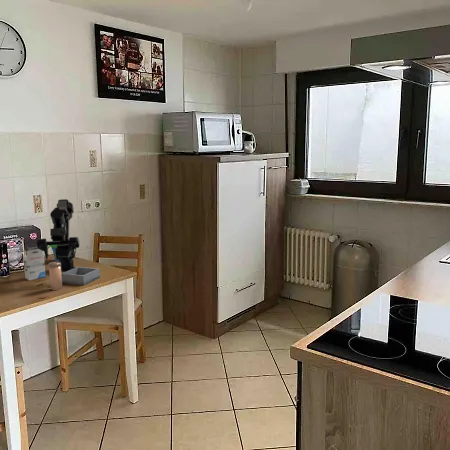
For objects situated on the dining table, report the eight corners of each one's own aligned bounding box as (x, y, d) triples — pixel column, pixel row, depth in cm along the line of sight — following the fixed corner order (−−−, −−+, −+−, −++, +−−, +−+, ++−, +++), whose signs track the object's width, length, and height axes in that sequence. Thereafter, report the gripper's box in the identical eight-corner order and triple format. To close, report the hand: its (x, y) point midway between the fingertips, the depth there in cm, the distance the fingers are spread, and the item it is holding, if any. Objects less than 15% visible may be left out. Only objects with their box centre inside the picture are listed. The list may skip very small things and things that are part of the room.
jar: (48, 289, 205) (45, 264, 203) (55, 286, 210) (53, 261, 208) (57, 291, 204) (55, 265, 201) (65, 287, 208) (63, 262, 206)
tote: (61, 282, 215) (61, 273, 215) (78, 275, 227) (78, 266, 226) (84, 285, 211) (83, 276, 210) (100, 277, 223) (99, 268, 222)
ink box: (41, 274, 229) (39, 246, 226) (46, 276, 226) (43, 247, 223) (24, 278, 223) (21, 249, 220) (28, 280, 220) (26, 251, 217)
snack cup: (46, 264, 249) (44, 246, 247) (49, 259, 259) (47, 241, 258) (75, 262, 253) (74, 244, 251) (77, 257, 263) (76, 240, 261)
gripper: (35, 222, 211) (31, 250, 203) (76, 220, 215) (75, 248, 206) (40, 235, 220) (37, 263, 212) (80, 233, 224) (78, 260, 215)
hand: (57, 258), depth 211 cm, fingers open, 9 cm apart
